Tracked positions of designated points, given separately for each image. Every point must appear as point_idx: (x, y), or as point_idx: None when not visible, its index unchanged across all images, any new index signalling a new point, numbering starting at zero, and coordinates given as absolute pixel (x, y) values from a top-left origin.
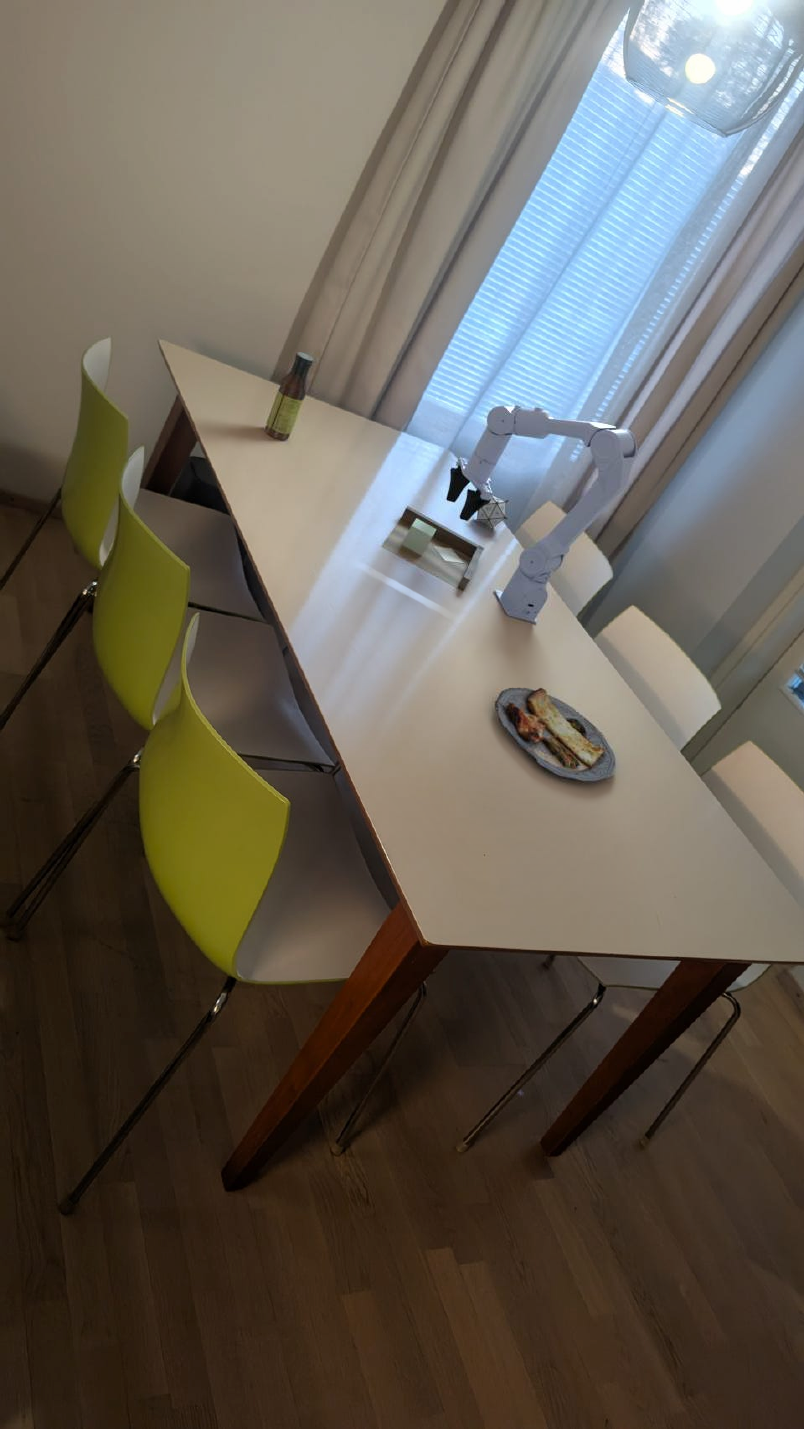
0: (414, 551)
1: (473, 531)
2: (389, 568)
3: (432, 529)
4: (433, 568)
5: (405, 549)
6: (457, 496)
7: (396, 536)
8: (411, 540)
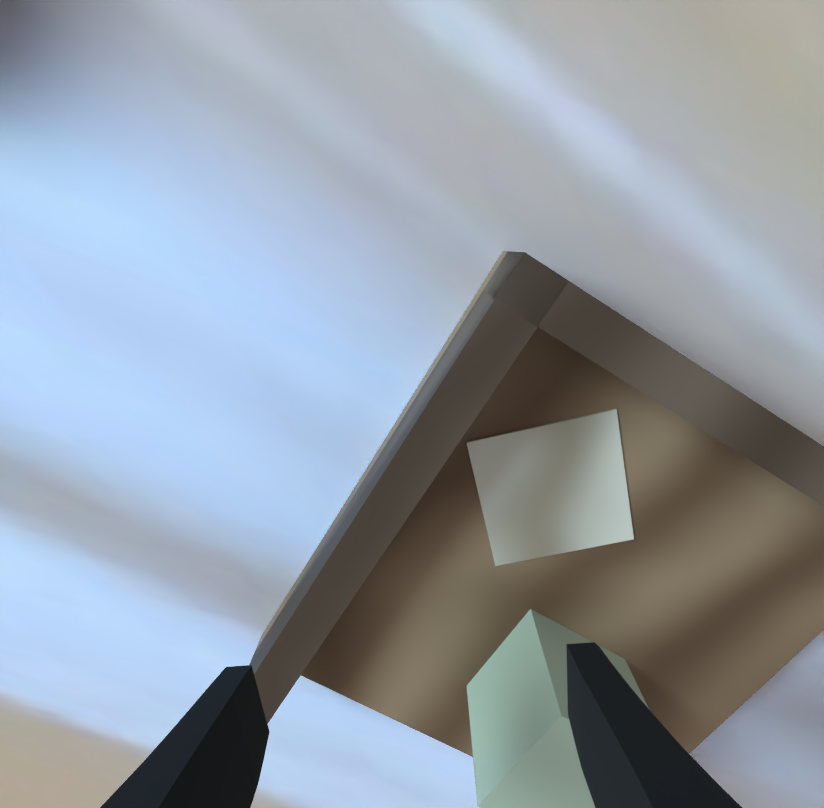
0: None
1: (19, 83)
2: (742, 797)
3: None
4: (733, 633)
5: None
6: (218, 730)
7: None
8: None
